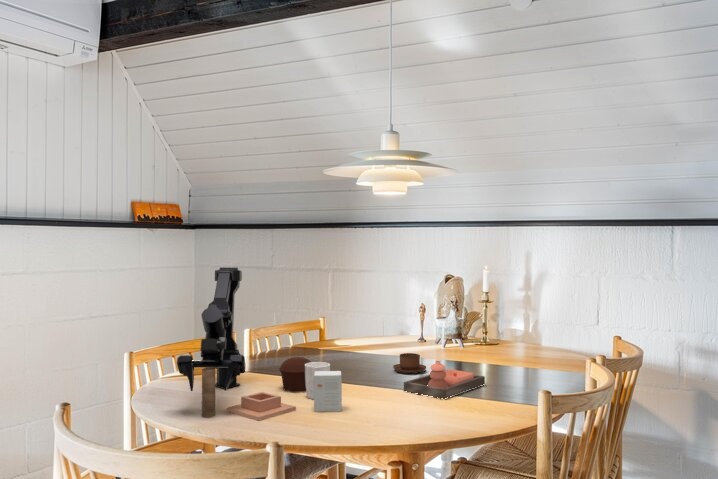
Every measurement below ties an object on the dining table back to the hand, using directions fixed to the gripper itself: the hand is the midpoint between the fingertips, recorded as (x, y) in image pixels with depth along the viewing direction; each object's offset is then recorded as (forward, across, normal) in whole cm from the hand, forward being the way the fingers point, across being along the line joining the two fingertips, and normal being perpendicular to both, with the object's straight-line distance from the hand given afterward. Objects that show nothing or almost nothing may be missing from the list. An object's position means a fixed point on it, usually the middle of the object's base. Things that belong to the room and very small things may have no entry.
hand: (208, 390), depth 184 cm
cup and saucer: (-34, +64, +44) cm, 84 cm away
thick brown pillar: (+5, 0, +6) cm, 7 cm away
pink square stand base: (+1, +14, +9) cm, 17 cm away
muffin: (-17, +24, +27) cm, 39 cm away
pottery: (-16, +73, +26) cm, 79 cm away
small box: (+1, +33, +10) cm, 35 cm away
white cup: (-9, +30, +20) cm, 37 cm away
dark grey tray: (-15, +72, +25) cm, 78 cm away
